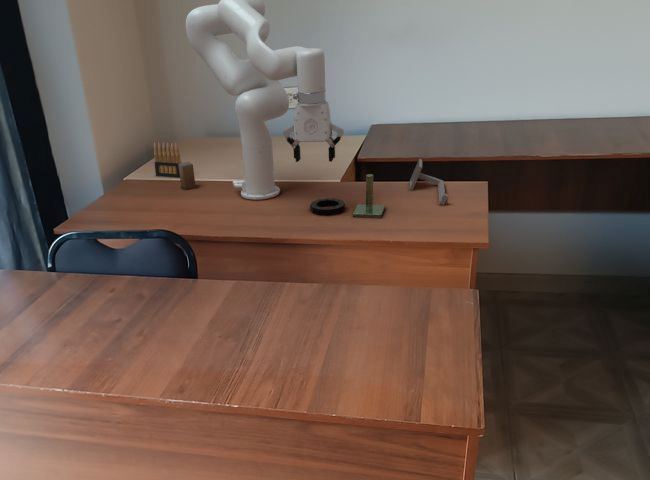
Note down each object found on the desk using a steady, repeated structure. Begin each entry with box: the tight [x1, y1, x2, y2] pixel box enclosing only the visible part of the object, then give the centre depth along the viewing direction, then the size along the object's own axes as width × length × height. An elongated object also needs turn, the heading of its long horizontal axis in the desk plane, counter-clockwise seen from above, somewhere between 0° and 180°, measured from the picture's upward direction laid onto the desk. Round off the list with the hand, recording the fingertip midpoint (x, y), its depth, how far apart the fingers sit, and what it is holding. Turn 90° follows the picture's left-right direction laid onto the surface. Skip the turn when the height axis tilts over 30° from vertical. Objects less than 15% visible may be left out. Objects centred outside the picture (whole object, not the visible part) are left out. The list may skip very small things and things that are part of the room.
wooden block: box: [178, 161, 196, 190], centre depth 224 cm, size 4×4×8 cm
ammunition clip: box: [153, 141, 183, 179], centre depth 236 cm, size 11×2×12 cm, turn 66°
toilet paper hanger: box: [409, 158, 449, 206], centre depth 203 cm, size 23×9×8 cm, turn 168°
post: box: [352, 173, 386, 219], centre depth 190 cm, size 8×8×11 cm
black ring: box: [309, 197, 346, 216], centre depth 197 cm, size 10×10×2 cm
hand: (314, 160), depth 191 cm, fingers open, 9 cm apart
